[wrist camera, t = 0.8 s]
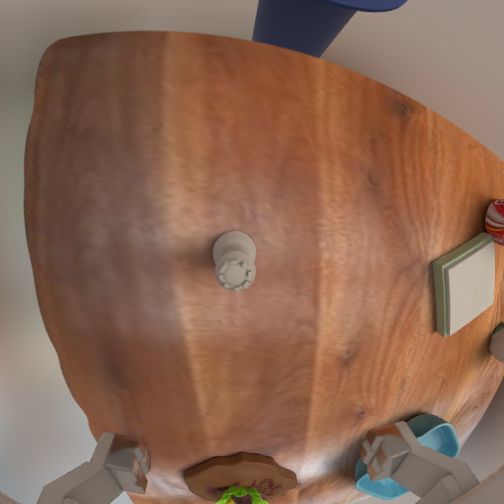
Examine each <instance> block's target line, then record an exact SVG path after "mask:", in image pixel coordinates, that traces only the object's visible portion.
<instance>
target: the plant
mask: <svg viewBox="0 0 504 504" xmlns="http://www.w3.org/2000/svg"><path fill="white" fill-rule="evenodd" d="M184 481H185V482H186V484H187V485H188V487H189V490H190V491H191V492H192V493H194V494H195V495H197V496H199V497H201V498H202V499H204V500H208V501H213V502H216V503H215V504H256V503H258V504H268V503H267V502H266V501H264V500H269V499H274V498H275V497H279V496H283V495H285V494H286V492H287V491H288V490H290V489H294V488H295V487H296V486H297V478H296V475H295V473H294V472H292V471H290V470H287V469H285V468H283V467H281V466H280V465H278V464H277V463H276V462H275V461H274V459H273V458H271V457H266V456H263V455H259V454H249V453H245V452H241V453H239V454H237V455H235V456H231V457H215V458H212V459H210V460H209V461H207V462H204V463H202V464H200V465H198V466H196V467H193V468H191V469H188V470H186V471H185V474H184Z"/></svg>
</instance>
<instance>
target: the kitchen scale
mask: <svg viewBox="0 0 504 504" xmlns="http://www.w3.org/2000/svg"><path fill="white" fill-rule="evenodd" d="M432 265H433V274H434V285H435V298H436V322H437V332H438V333H439V334H441V335H442V336H443V337H444V338H445V337H446V336H448V335H449V336H451V335H452V334H453V333H455V332H456V331H458V330H459V329H460V328H462V327H463V326H465V325H466V324H467V323H469V322H470V321H471V320H473V319H474V318H475V317H477V316H478V315H479V314H480V313H482V312H483V311H484V310H485V309H487V308H488V307H489V306H490V305H492V304H493V303H494V285H495V248H494V240H492V235H491V234H487V233H484V232H482V233H480V234H479V235H477V236H476V237H474V238H472V239H471V240H469V241H468V242H466V243H464V244H463V245H461V246H459V247H458V248H456V249H454V250H452V251H451V252H449V253H447V254H446V255H444V256H442V257H440V258H439V259H437V260H435V261H433V262H432Z"/></svg>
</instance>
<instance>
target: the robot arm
mask: <svg viewBox="0 0 504 504" xmlns="http://www.w3.org/2000/svg"><path fill="white" fill-rule="evenodd" d="M366 437H367V439H366V440H365V441H363V442H362V445H361V447H360V456H361V459H362V462H363V463H365V464H366V465H368V468H367V470H366V471H367V473H368V475H369V477H370V479H371V482H375V481H378V480H381V479H385V478H388V477H390V478H391V479H393V480H394V481H396V482H397V483H399V484H400V485H402V486H403V487H405V488H406V489H408V490H409V491H411V492H412V493H414V494H415V495H417V496H419V497H420V498H421V499H420V500H419V501H418V502H417V503H416V504H504V465H503V466H501V467H500V468H499V469H498V470H496V471H495V472H494V473H493V474H491V475H490V476H489V477H487V478H486V479H485V480H483V481H482V482H479V481H478V479H477V478H476V477H475V475H474V474H473V473H472V471H471V469H470V468H469V467H468V465H467V464H466V463H464V462H461V461H459V460H456V459H454V458H452V457H449V456H447V455H444V454H442V453H440V452H438V451H435V450H433V449H431V448H429V447H427V446H423V447H422V446H421V444H420V443H419V441H418V440H417V438H416V437H415V435H414V434H413V432H412V431H411V429H410V428H409V426H408V425H407V423H406V422H404V421H400V422H397V423H394V424H389V425H386V426H382V427H378V428H375V429H371V430H369V431H368V432H367V434H366ZM145 446H146V443H145V441H144V439H141V438H136V437H130V436H125V435H121V434H117V433H112V432H107V431H104V432H103V433H102V434H101V436H100V439H99V441H98V443H97V446H96V448H95V451H94V454H93V456H92V458H91V461H90V462H85V463H83V464H82V465H80V466H78V467H77V468H75V469H73V470H72V471H70V472H68V473H67V474H65V475H63V476H61V477H60V478H58V479H56V480H55V481H53V482H51V483H49V484H47V485H45V486H44V488H43V490H42V492H41V495H40V497H39V499H38V502H37V504H110V503H111V502H112V501H113V500H114V499H115V498H117V497H118V496H119V495H120V494H121V493H122V492H123V491H128V492H133V493H139V494H145V491H146V486H147V479H146V477H145V475H146V474H147V473H149V472H150V466H151V458H150V453H149V451H148V450H147V449H146V448H145ZM0 504H20V503H18V502H17V501H15V500H13V499H12V498H10V497H9V496H7V495H6V494H4V493H2V492H1V491H0Z"/></svg>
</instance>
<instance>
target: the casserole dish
mask: <svg viewBox="0 0 504 504" xmlns="http://www.w3.org/2000/svg"><path fill="white" fill-rule="evenodd" d="M406 423H407V425H408V426H409V428H410V429H411V431H412V432H413V434H414V435H415V437H416V438H417V440H418V441H419V443H420V444H421V446H422V447H423V446H427V447H429V448H431V449H433V450H435V451H438V452H440V453H442V454H444V455H447V456H449V457H452V458H454V459H455V457H456V456H457V454H458V453H459V451H460V443H459V440H458V437H457V434H456V431H455V429H454V427H453V426H452V424H450V423H448V422H446V421H445V420H443V419H441V418H439V417H437V416H435V415H432V414H423V415H418V416H416V417H414V418H412V419H410V420H409V421H407V422H406ZM367 468H368V465H366V464H365V463H363V462H362V459H361V457H360V458H359V459H358V461H357V463H356V468H355V487H356V489H357V490H359V491H361V492H363V493H365V494H368V495H371V496H374V497H376V498H380V499H383V500H392V499H396V498H398V497H401V496H403V495H405V494H407V493H408V492H410V491H409V490H408V489H406V488H405V487H403V486H402V485H400V484H399V483H397V482H396V481H394V480H393V479H391V478H390V477H388V478H385V479H381V480H378V481H375V482H371V479H370V477H369V475H368V473H367V471H366V470H367Z"/></svg>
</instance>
